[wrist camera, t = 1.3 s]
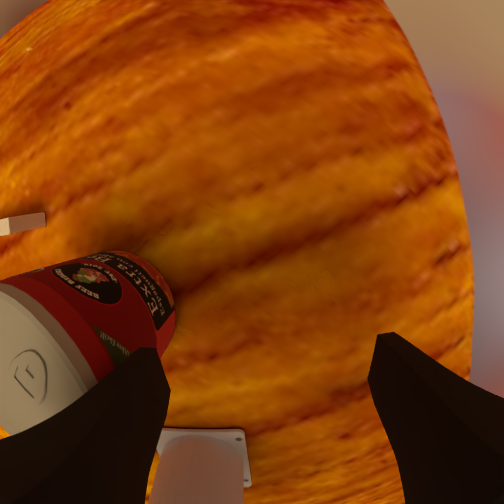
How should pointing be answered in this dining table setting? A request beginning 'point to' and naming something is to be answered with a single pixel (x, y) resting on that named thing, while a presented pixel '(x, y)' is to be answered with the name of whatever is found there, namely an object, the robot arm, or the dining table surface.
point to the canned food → (75, 330)
